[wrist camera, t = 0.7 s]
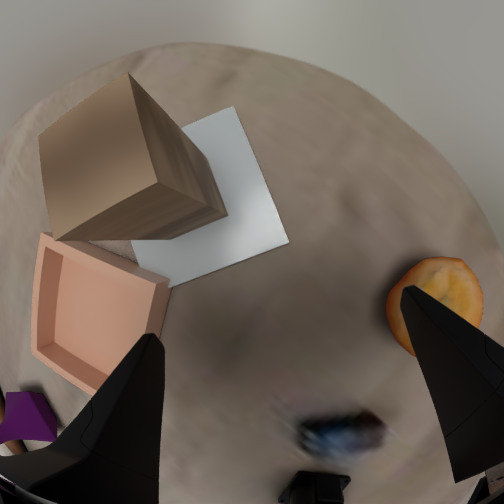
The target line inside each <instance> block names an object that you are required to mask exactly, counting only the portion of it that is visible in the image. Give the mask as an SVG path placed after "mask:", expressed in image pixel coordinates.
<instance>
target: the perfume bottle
mask: <svg viewBox="0 0 504 504" xmlns="http://www.w3.org/2000/svg"><path fill="white" fill-rule="evenodd" d="M56 438H57V419H56V417H55V415H54V414H53V412H52V410H51V408H50V407H49V405H48V403H47V401H46V399H45V397H44V396H43V394H39V393H34V392H29V391H26V392H6V400H5V415H4V419H3V421H2V423H1V424H0V444H2V443H4V442H8V441H11V440H19V439H22V440H37V441H49V442H54V441H55V440H56Z"/></svg>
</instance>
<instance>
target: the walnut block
mask: <svg viewBox="0 0 504 504" xmlns="http://www.w3.org/2000/svg"><path fill="white" fill-rule="evenodd" d="M39 151H40V162H41V171H42V179H43V186H44V193H45V199H46V205H47V210H48V215H49V220H50V225H51V230H52V234H53V238H54V241H96V240H172V239H174V238H176V237H179V236H181V235H183V234H186V233H188V232H191V231H193V230H195V229H198V228H200V227H202V226H205V225H207V224H210V223H212V222H215V221H217V220H219V219H222V218H224V217H227V216H229V215H228V213H227V210H226V207H225V205H224V202H223V199H222V197H221V194H220V192H219V189H218V186H217V184H216V181H215V178H214V176H213V173H212V170H211V168H210V165H209V162H208V160H207V157H206V156H205V155H204V154H203V153H202V152H201V151H200V150H199V148H198V147H197V146H196V145H195V144H194V143H193V142H192V141H191V140H190V139H189V137H188V136H187V135H186V134H185V133H184V132H183V131H182V130H181V129H180V128H179V126H178V125H177V124H176V123H175V122H174V121H173V120H172V119H171V118H170V117H169V116H168V115H167V113H166V112H165V111H164V110H163V109H162V108H161V107H160V106H159V105H158V104H157V103H156V102H155V101H154V99H153V98H152V97H151V96H150V95H149V94H148V93H147V92H146V91H145V90H144V89H143V88H142V87H141V86H140V85H139V84H138V83H137V82H136V80H135V79H134V78H133V77H132V76H131V75H130V74H129V73H126V74H124V75H122V76H121V77H119V78H117V79H116V80H114V81H112V82H111V83H109V84H108V85H106V86H105V87H103V88H101V89H100V90H98V91H97V92H95V93H94V94H92V95H91V96H89V97H88V98H87V99H85V100H84V101H82V102H81V103H80V104H78V105H77V106H75V107H74V108H73V109H71V110H70V111H69V112H67V113H66V114H65V115H64V116H62V117H61V118H60V119H59V120H57V121H56V122H55V123H54V124H52V125H51V126H50V127H49V128H48V129H46V130H45V131H44V132H43V133H42V134H41V135H39Z"/></svg>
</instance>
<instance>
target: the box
mask: <svg viewBox="0 0 504 504" xmlns="http://www.w3.org/2000/svg"><path fill="white" fill-rule="evenodd" d="M169 282H170V279H169V278H167V277H164V276H161V275H159V274H156V273H154V272H151V271H149V270H146V269H144V268H141V267H139V264H138V263H136V262H134V261H131V260H129V259H127V258H124V257H122V256H119V255H117V254H114V253H112V252H110V251H107V250H105V249H102V248H100V247H98V246H95V245H93V244H91V243H88V242H86V241H54V238H53V234H52V232H41V236H40V241H39V247H38V253H37V260H36V267H35V276H34V285H33V297H32V314H31V353H32V354H33V355H34V356H36V357H37V358H38V359H39V360H41V361H42V362H43V363H45V364H46V365H47V366H49V367H50V368H51V369H53V370H54V371H55V372H57V373H58V374H60V375H61V376H62V377H64V378H65V379H67V380H68V381H70V382H71V383H73V384H74V385H76V386H77V387H79V388H80V389H82V390H83V391H85V392H87V393H88V394H90V395H91V396H93V395H94V394H95V393H96V392H97V390H98V389H99V388H100V387H101V385H102V384H103V383H104V382H105V380H106V379H107V378H108V377H109V375H110V374H111V373H112V372H113V370H114V369H115V368H116V367H117V365H118V364H119V363H120V362H121V360H122V359H123V358H124V357H125V355H126V354H127V353H128V352H129V351H130V349H131V348H132V347H133V346H134V344H135V343H136V342H137V341H138V340H139V338H140V337H141V336H142V335H143V334H145V333H155V334H156V336H157V337H158V339H159V338H160V334H161V329H162V325H163V321H164V317H165V313H166V309H167V305H168V301H169V297H170V293H171V290H172V287H170V288H168V286H169Z"/></svg>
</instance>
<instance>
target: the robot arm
mask: <svg viewBox="0 0 504 504" xmlns="http://www.w3.org/2000/svg"><path fill="white" fill-rule="evenodd" d="M400 309H401V312H402V315H403V319H404V322H405V325H406V328H407V331H408V335H409V338H410V341H411V345H412V347H413V350H414V352H415V355H416V357H417V360H418V362H419V365H420V368H421V370H422V373H423V375H424V378H425V381H426V384H427V386H428V389H429V392H430V395H431V398H432V401H433V404H434V407H435V410H436V413H437V416H438V419H439V422H440V426H441V429H442V432H443V436H444V438H445V439H444V440H445V444H446V447H447V451H448V455H449V459H450V463H451V468H452V472H453V477H454V481H455V483H458V482H460V481H463V480H466V479H468V478H470V477H473V476H475V475H477V474H480V473H482V472H484V471H485V474H486V476H484V477H483V478H481V479H480V480H479V482H478V484H477V486H476V488H475V490H474V492H473V494H472V496H471V498H470V500H469V501H468V503H467V504H504V347H502V346H501V345H499V344H498V343H497V342H495V341H494V340H493V339H491V338H490V337H489V336H487V335H486V334H485V335H484V333H483V332H482V331H480V330H479V329H478V328H476V327H475V326H473V325H472V324H471V323H469V322H468V321H467V320H465V319H464V318H462V317H461V316H460V315H458V314H457V313H455V312H454V311H452V310H451V309H450V308H448V307H447V306H445V305H444V304H442V303H441V302H439V301H438V300H436V299H435V298H433V297H432V296H430V295H429V294H427V293H426V292H424V291H423V290H421V289H420V288H418V287H417V286H415V285H409V286H406V287H404V288H403V290H402V295H401V300H400ZM164 390H165V349H164V346H163V344H162V343H161V341H160V340H159V339H158V337H157V336H156V334H155V333H145V334H143V335H142V336H141V337H140V338H139V340H138V341H137V342H136V343H135V344H134V346H133V347H132V348H131V349H130V351H129V352H128V353H127V354H126V355H125V357H124V358H123V359H122V360H121V362H120V363H119V364H118V365H117V367H116V368H115V369H114V370H113V372H112V373H111V374H110V375H109V377H108V378H107V379H106V380H105V382H104V383H103V384H102V385H101V387H100V388H99V389H98V390H97V392H96V393H95V394H94V395H93V397H92V398H91V400H90V401H89V402H88V403H87V404H86V406H85V407H84V408H83V409H82V411H81V412H80V413H79V414H78V415H77V417H76V418H75V419H74V420H73V421H72V422H71V423H70V424H69V426H68V427H67V428H66V429H65V430H64V431H63V432H62V433H61V434H60V435H59V436H58V437H57V438H56V440H55V441H54V442H53V443H51V444H50V445H48V446H47V447H44V448H41V449H38V450H34V451H30V452H26V453H21V454H17V455H12V456H1V455H0V474H1V475H2V476H4V477H5V478H7V479H8V480H10V481H11V482H13V483H14V484H13V483H11V482H9V481H7V480H5V479H3V478H1V477H0V504H159V460H160V441H161V426H162V413H163V401H164ZM350 481H351V479H350V477H348V476H337V475H327V474H319V473H312V472H305V471H300V472H298V473H297V474H296V475H295V477H294V478H293V480H292V481H291V482H290V484H289V485H288V486H287V488H286V489H285V490H284V492H283V493H282V494H281V496H280V497H279V498H278V502H279V503H284V504H344V497H343V492H342V491H343V490H344V488H345V487H346V486H347V485H348V484H349V483H350Z"/></svg>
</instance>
